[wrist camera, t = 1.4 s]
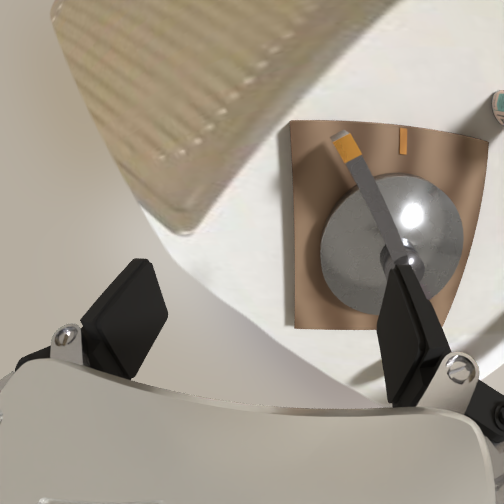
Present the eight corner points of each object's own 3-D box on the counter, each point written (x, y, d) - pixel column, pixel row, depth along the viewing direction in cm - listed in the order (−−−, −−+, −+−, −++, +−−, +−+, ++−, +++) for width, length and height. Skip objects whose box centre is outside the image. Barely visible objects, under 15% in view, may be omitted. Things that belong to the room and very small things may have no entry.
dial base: (480, 139, 22) (489, 142, 21) (438, 318, 36) (442, 327, 34) (290, 120, 27) (289, 121, 26) (295, 319, 41) (294, 329, 39)
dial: (466, 270, 29) (484, 296, 24) (354, 322, 37) (358, 354, 32) (406, 94, 21) (428, 94, 16) (261, 174, 29) (250, 190, 24)
